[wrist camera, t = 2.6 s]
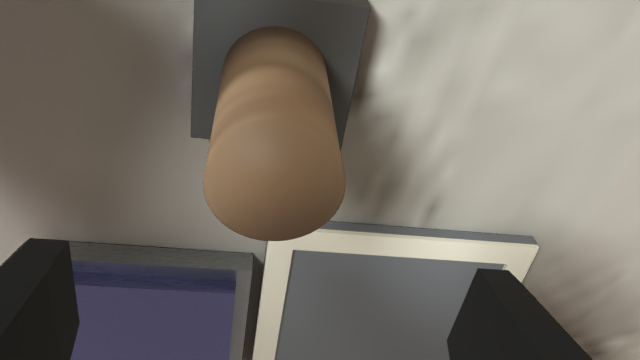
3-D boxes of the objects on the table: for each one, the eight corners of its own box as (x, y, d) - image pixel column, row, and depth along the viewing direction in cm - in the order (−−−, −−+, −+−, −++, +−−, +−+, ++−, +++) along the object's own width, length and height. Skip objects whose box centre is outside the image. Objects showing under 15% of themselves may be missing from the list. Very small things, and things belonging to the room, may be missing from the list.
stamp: (195, 118, 20) (162, 260, 14) (199, -29, 17) (160, 76, 11) (337, 133, 20) (361, 274, 15) (364, -6, 18) (407, 103, 12)
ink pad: (65, 353, 26) (54, 386, 25) (47, 240, 22) (32, 271, 21) (240, 360, 27) (239, 391, 26) (253, 253, 23) (251, 284, 22)
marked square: (247, 385, 29) (247, 398, 28) (270, 216, 22) (270, 228, 22) (457, 392, 30) (460, 404, 30) (532, 236, 24) (539, 248, 23)
